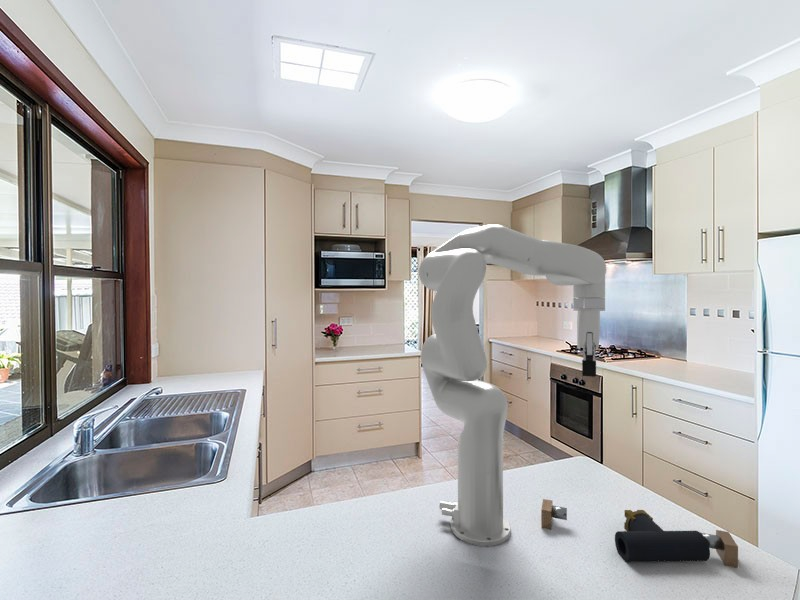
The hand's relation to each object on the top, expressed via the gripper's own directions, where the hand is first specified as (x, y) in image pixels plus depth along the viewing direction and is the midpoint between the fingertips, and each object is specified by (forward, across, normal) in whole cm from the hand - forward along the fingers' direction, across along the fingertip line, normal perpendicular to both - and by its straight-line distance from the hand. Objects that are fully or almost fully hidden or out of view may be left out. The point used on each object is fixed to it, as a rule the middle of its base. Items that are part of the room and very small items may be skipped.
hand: (589, 375), depth 107 cm
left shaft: (+29, +22, -7) cm, 37 cm away
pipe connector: (+30, +23, +10) cm, 39 cm away
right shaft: (+29, +22, +22) cm, 42 cm away
